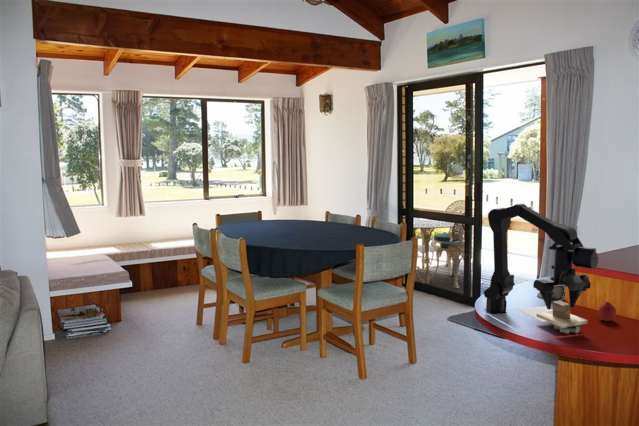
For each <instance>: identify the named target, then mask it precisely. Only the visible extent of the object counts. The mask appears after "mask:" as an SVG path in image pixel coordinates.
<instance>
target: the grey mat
mask: <svg viewBox="0 0 639 426" xmlns="http://www.w3.org/2000/svg"><path fill="white" fill-rule="evenodd" d="M515 309H516V310H517V311H520V312H522V313H525V314H526V315H528V316H530V317H532V318H534V319H536V320H538V321H540V322H543V323H545V322H546V323H547V322H548V321H546V320H543V319H541V318H539V317H537V314H538V313H544V312H549V311H553V308H552V307H551V308H550V310H549V309H547V307H546V305H542V306H532V307H516V308H515Z"/></svg>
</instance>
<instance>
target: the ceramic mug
mask: <svg viewBox="0 0 639 426" xmlns="http://www.w3.org/2000/svg"><path fill="white" fill-rule="evenodd" d="M550 282H553V281H552V280H550ZM564 290H565V293H564ZM552 291H553V292H554V293H553V295H552V298H551V299H556V300H558V301H559V300H560V301H563V300H564V299H565V298H566V296H567V289H566V287H554V289H553V290H552ZM563 294H564V295H563ZM536 295H537V297H538V298H539V299H543V297H542V295H541V293H540V291H539V292H538V293H537V294H536ZM562 296H563V297H562Z"/></svg>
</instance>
